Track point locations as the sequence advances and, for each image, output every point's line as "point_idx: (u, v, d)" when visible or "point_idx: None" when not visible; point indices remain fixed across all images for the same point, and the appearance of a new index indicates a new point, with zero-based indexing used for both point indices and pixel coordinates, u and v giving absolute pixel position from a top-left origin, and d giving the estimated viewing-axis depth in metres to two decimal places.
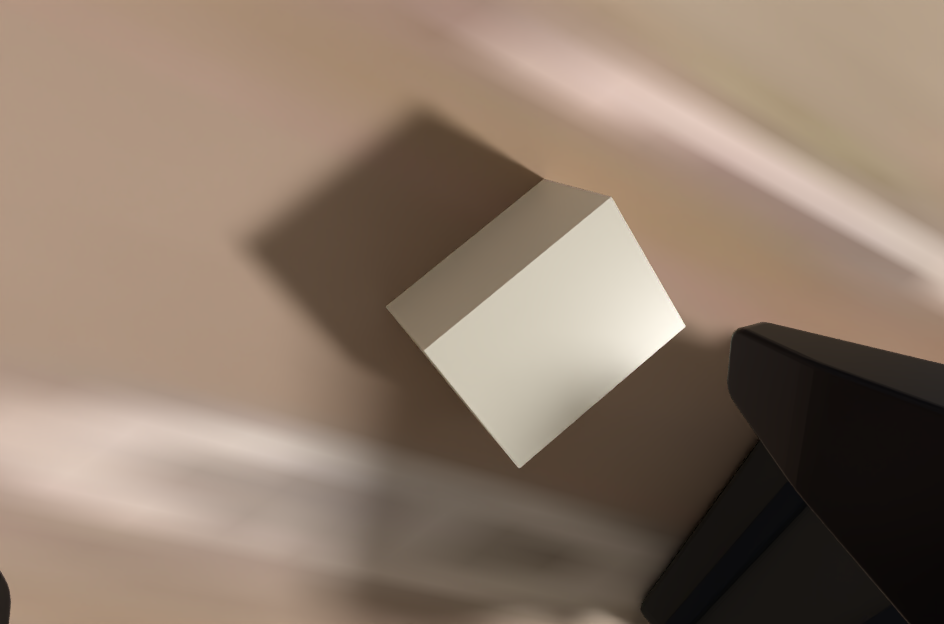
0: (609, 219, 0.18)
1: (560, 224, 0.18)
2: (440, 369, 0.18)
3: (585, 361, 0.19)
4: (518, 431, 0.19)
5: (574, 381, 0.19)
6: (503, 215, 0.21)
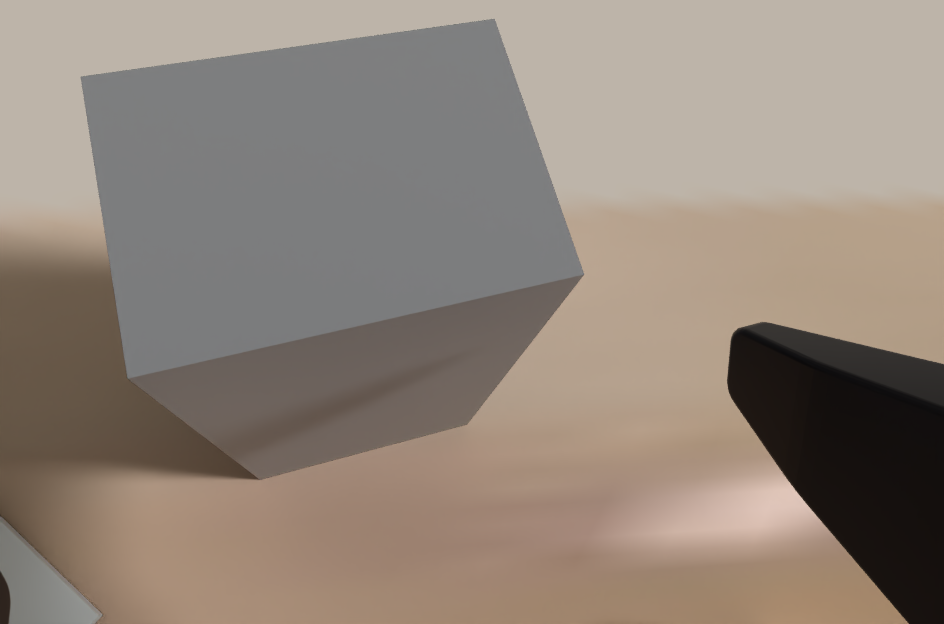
0: None
1: None
2: None
3: None
4: None
5: None
6: None
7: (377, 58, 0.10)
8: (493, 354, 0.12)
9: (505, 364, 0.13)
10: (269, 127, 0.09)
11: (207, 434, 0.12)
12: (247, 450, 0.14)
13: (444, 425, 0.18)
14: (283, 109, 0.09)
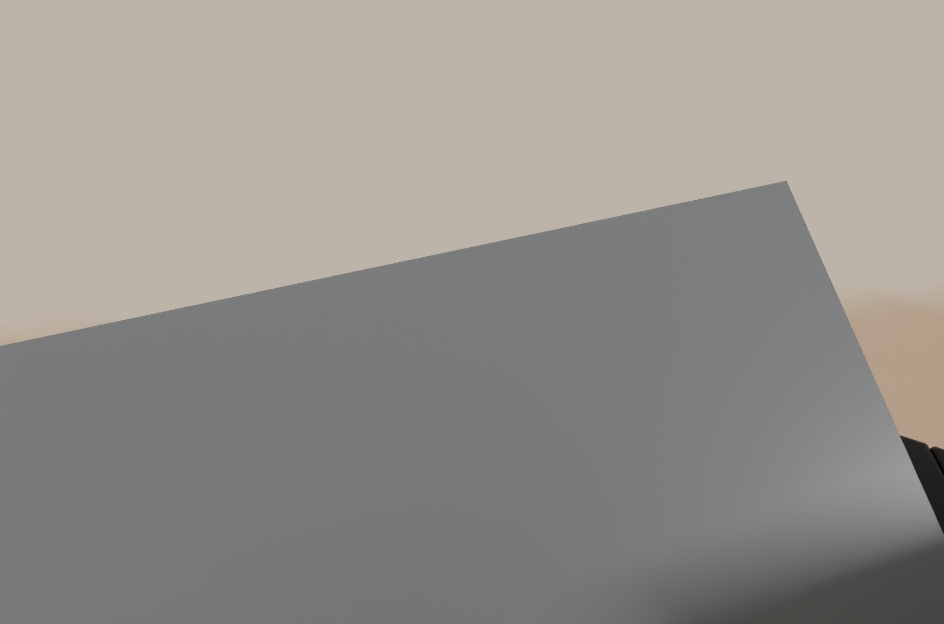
0: None
1: None
2: None
3: None
4: None
5: None
6: None
7: (573, 278, 0.05)
8: None
9: None
10: (362, 463, 0.04)
11: None
12: None
13: None
14: (389, 414, 0.04)
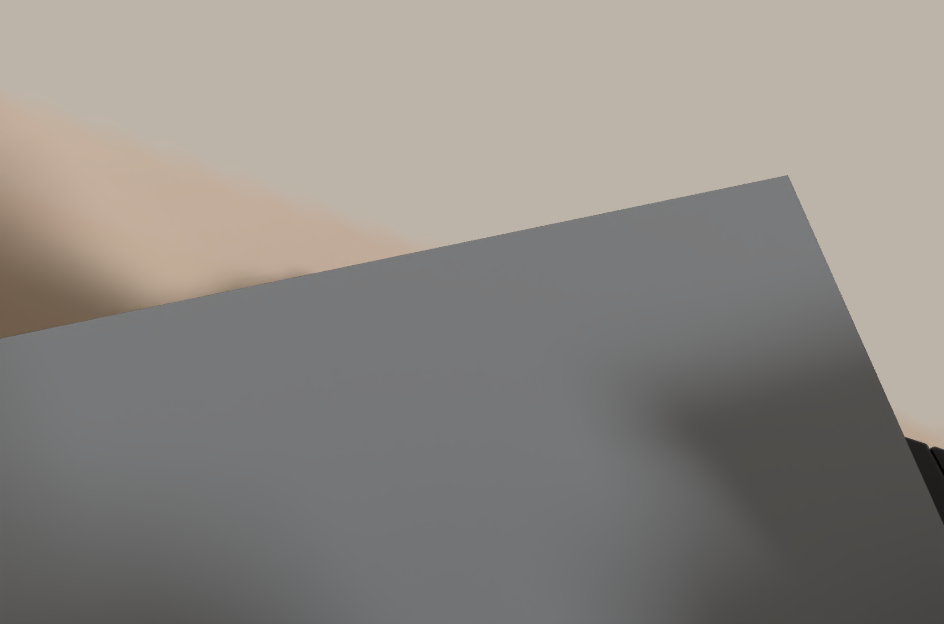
0: None
1: None
2: None
3: None
4: None
5: None
6: None
7: (575, 272, 0.05)
8: None
9: None
10: (364, 455, 0.04)
11: None
12: None
13: None
14: (392, 406, 0.04)
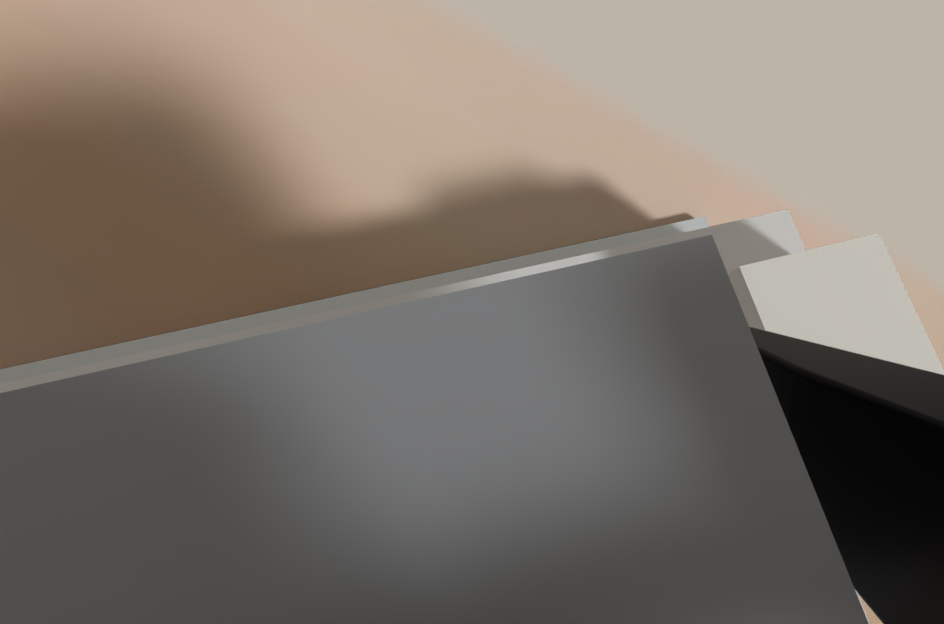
0: None
1: None
2: None
3: None
4: None
5: None
6: None
7: (520, 323, 0.05)
8: None
9: None
10: (336, 485, 0.05)
11: None
12: None
13: None
14: (359, 443, 0.05)
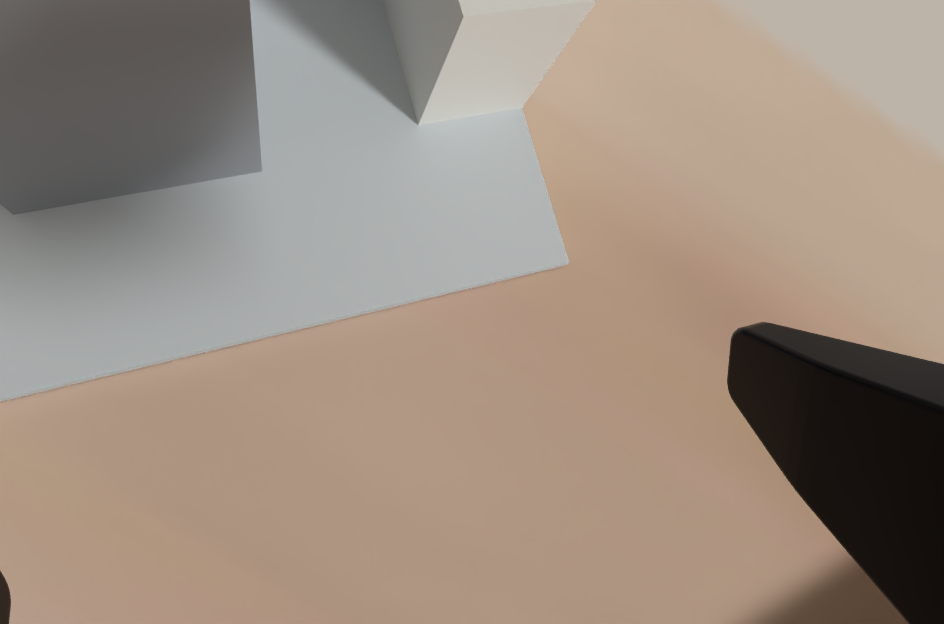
0: None
1: None
2: None
3: None
4: None
5: None
6: None
7: None
8: None
9: (237, 18, 0.11)
10: None
11: None
12: None
13: (228, 162, 0.17)
14: None
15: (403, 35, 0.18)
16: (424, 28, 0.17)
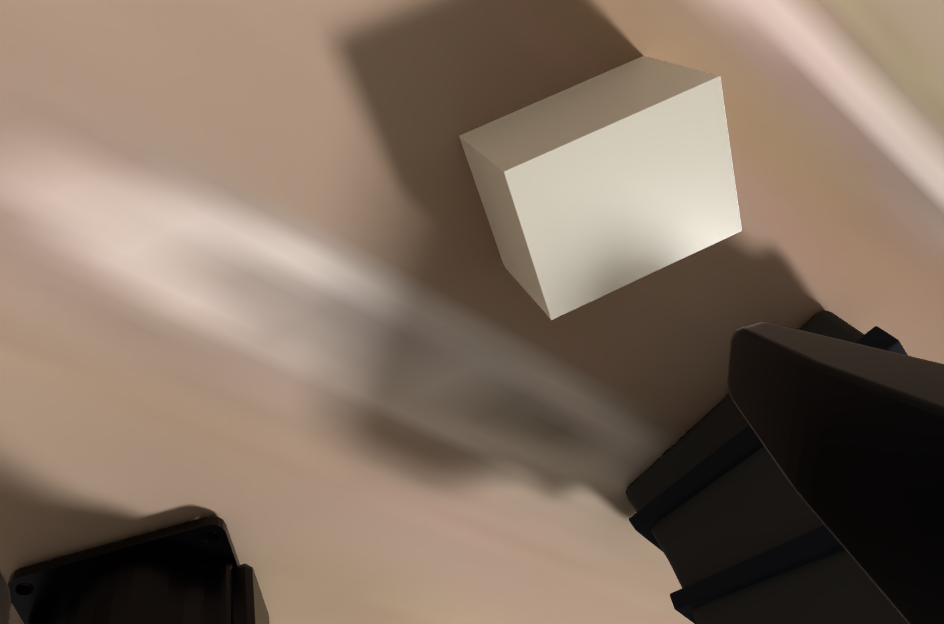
0: (711, 98, 0.18)
1: (661, 91, 0.18)
2: (513, 196, 0.18)
3: (643, 234, 0.19)
4: (562, 283, 0.19)
5: (627, 251, 0.19)
6: (596, 79, 0.21)
7: None
8: None
9: None
10: None
11: None
12: None
13: None
14: None
15: None
16: None
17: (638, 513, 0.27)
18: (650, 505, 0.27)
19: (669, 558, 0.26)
